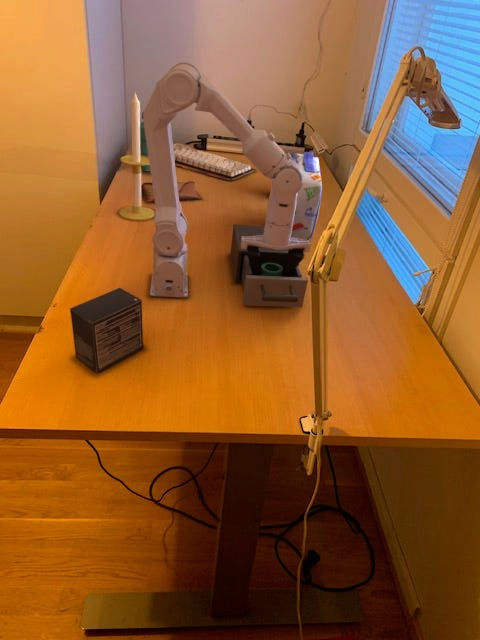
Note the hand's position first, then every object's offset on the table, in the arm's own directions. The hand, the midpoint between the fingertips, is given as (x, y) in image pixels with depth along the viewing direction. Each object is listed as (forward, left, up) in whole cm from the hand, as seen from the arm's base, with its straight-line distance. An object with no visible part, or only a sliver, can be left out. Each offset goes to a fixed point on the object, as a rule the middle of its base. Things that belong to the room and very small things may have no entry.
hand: (270, 278), depth 108 cm
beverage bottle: (+80, +31, -4) cm, 86 cm away
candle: (+42, +32, -4) cm, 53 cm away
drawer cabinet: (+11, 0, -4) cm, 12 cm away
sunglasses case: (+57, +22, -4) cm, 62 cm away
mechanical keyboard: (+94, +12, -4) cm, 95 cm away
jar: (0, 0, -2) cm, 2 cm away
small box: (-23, +32, -4) cm, 39 cm away
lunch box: (+33, -12, -4) cm, 36 cm away
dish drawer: (-2, 0, -3) cm, 4 cm away
